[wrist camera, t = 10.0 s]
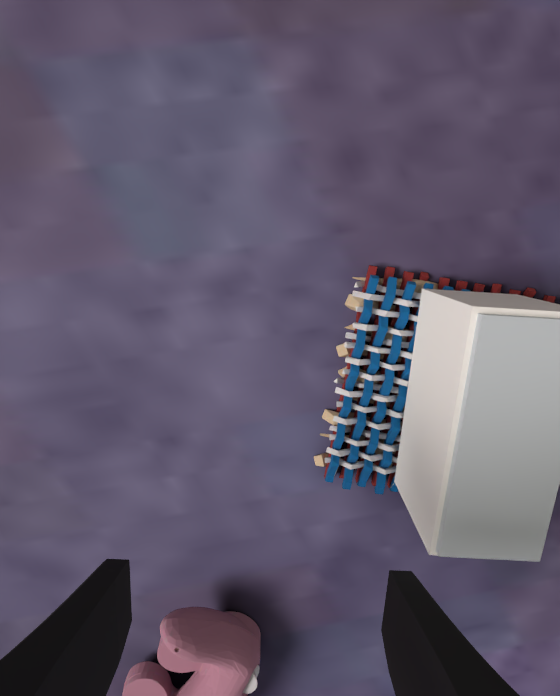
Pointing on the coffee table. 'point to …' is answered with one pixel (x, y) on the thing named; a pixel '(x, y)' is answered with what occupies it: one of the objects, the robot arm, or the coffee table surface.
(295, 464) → the coffee table surface
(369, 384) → the woven mat
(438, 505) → the painted block
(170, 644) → the pink curved figurine
